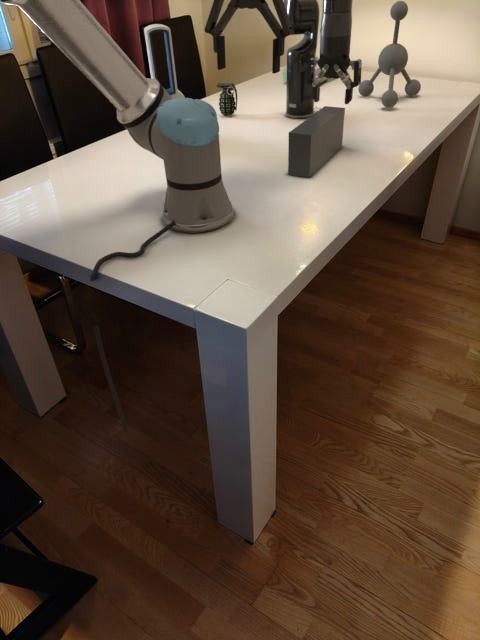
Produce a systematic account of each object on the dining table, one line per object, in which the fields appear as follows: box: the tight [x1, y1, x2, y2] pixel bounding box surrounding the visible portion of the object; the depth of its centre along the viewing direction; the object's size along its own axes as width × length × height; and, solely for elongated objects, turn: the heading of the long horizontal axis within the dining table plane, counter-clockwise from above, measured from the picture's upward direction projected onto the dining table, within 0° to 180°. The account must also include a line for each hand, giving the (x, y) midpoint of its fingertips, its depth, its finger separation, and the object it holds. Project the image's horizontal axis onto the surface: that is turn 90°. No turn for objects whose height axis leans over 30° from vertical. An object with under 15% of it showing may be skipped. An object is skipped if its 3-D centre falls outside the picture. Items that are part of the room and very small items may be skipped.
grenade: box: [215, 82, 238, 117], centre depth 166 cm, size 7×6×10 cm
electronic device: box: [143, 23, 186, 99], centre depth 146 cm, size 12×8×30 cm, turn 105°
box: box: [287, 105, 346, 178], centre depth 129 cm, size 25×6×10 cm, turn 152°
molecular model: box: [358, 0, 422, 109], centre depth 166 cm, size 24×22×30 cm
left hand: (248, 70), depth 111 cm, fingers open, 13 cm apart
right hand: (331, 102), depth 130 cm, fingers open, 8 cm apart
